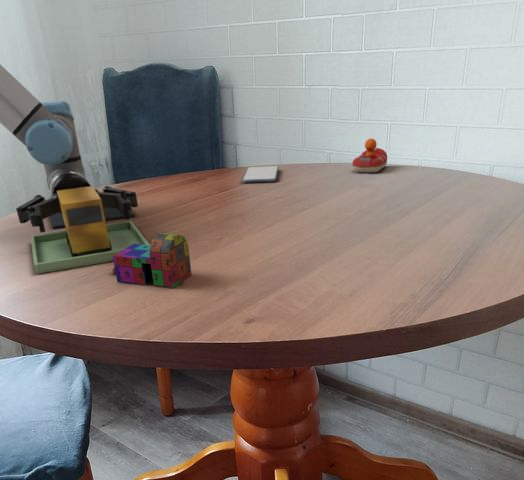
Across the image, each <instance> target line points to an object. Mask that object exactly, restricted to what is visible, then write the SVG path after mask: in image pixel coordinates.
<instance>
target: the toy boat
mask: <svg viewBox="0 0 524 480" xmlns="http://www.w3.org/2000/svg"><path fill="white" fill-rule="evenodd" d="M377 146H378V145H377V141H376V139H374V138H368V139H366V140H365V143H364V148H365V150H364V151H363V152H361V154H360V155H359V156H357V157H355V158H354V159H353V160H352V164H351V165H352V169H353V170H354V172H356V173H368V174H370V173H371V174H373V173H378V172H380V171H381V170H382V169H383V168H385V167H386V166H387V163H388V154H387V152H386V151H385V150H384V149H382V148H380V147H377Z"/></svg>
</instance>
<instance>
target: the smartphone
mask: <svg viewBox="0 0 524 480" xmlns="http://www.w3.org/2000/svg"><path fill="white" fill-rule="evenodd" d="M278 172H279V165H269V166H266V165H265V166H249V167H247V169H246V171H245V174H244V175H243V178H242V183H271V182H276V181H277V176H278Z"/></svg>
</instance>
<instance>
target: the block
mask: <svg viewBox="0 0 524 480" xmlns="http://www.w3.org/2000/svg"><path fill="white" fill-rule="evenodd" d="M190 258H191V257H190V251H189V244H188V241H187V240H186V238H185V237H184V235H182V234H179V233H178V234H177V233H163V232H159V233H157V234H156V235H154V237H153V239H152V241H151V242H150V245H142V244H133V245H131V246H129V247H127V248H126V249H124V250H122V251H120V252H118V253H117V254H115V255H113V261H112V262H113V266H114V267H113V268H112V275H115V276H116V282H117V283H120V284H129V285H138V286H146V285H147V276H146V271H151V274H152V282H153V286H154V287H156V288H166V289H174V288H176V287H178V286H179V285H180V284H181V283H182V282H183V281H185V280H187V279H188V278H189V277H190V276H191V275H192V267H191V259H190Z"/></svg>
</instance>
